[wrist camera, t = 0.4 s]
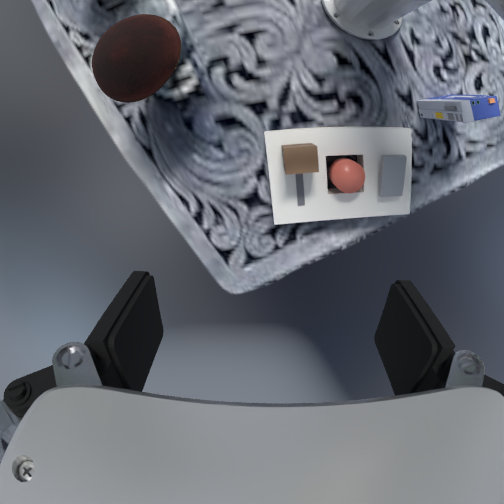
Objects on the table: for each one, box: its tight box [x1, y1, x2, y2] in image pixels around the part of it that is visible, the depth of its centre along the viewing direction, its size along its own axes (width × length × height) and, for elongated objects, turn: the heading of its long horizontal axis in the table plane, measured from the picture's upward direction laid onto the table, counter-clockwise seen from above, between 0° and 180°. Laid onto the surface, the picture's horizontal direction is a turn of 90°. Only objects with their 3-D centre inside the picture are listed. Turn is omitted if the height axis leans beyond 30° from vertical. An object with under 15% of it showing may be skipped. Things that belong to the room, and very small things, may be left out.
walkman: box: [417, 95, 501, 123], centre depth 29 cm, size 8×3×12 cm, turn 111°
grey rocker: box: [378, 155, 407, 197], centre depth 35 cm, size 6×4×1 cm, turn 7°
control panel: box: [264, 126, 412, 225], centre depth 38 cm, size 13×21×4 cm, turn 97°
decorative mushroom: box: [92, 14, 181, 103], centre depth 27 cm, size 11×11×15 cm
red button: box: [329, 158, 365, 193], centre depth 37 cm, size 4×4×3 cm
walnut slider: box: [281, 143, 319, 175], centre depth 35 cm, size 3×4×4 cm
